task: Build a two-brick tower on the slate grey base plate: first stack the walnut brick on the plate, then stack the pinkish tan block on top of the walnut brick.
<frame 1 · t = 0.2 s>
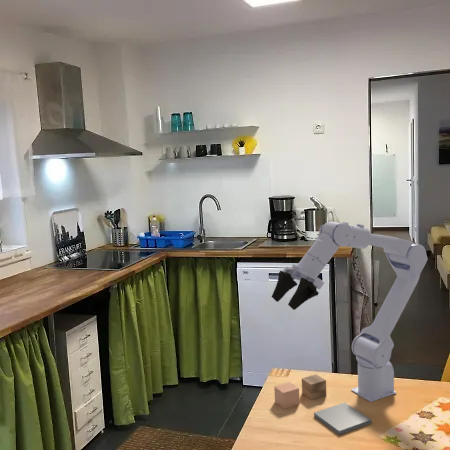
hand: (282, 303, 123), 31 cm above the table, tool tilted 45°, fingers open, 7 cm apart
walnut brick: (314, 394, 139), on the table
pinkish tan block: (287, 403, 135), on the table
base plate: (342, 419, 125), on the table
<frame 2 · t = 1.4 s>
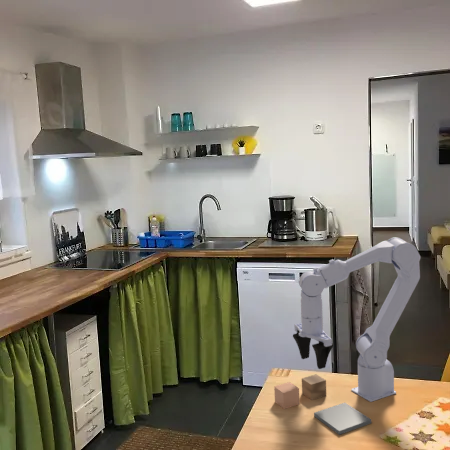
hand: (313, 362, 138), 9 cm above the table, tool pointing down, fingers open, 7 cm apart
nothing on the table moved.
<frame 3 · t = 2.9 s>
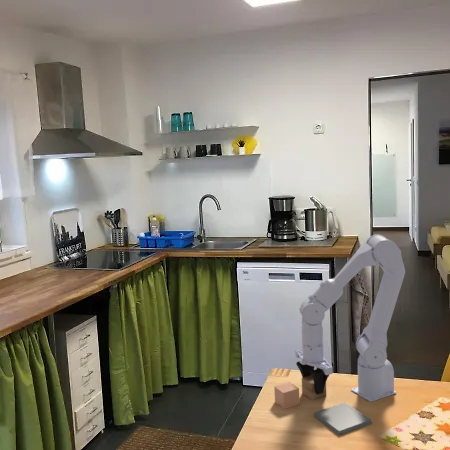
hand: (314, 389, 139), 1 cm above the table, tool pointing down, fingers closed on walnut brick, 4 cm apart
walnut brick: (314, 394, 139), on the table, touching gripper
everything else where it was.
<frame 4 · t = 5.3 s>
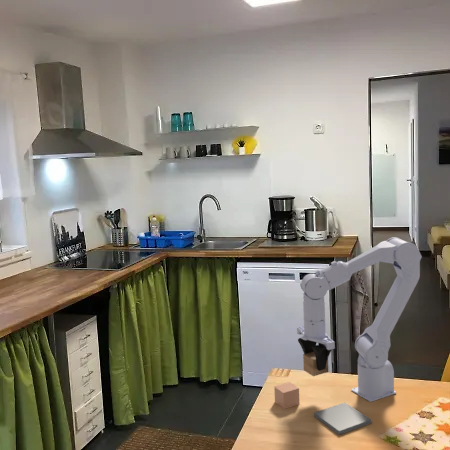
hand: (315, 366, 137), 9 cm above the table, tool pointing down, fingers closed on walnut brick, 4 cm apart
walnut brick: (316, 371, 137), point 7 cm above the table, touching gripper
everything else where it was.
when the fingers open (3 cm above the table, at t = 8.2 s): walnut brick stays where it is, resting on base plate.
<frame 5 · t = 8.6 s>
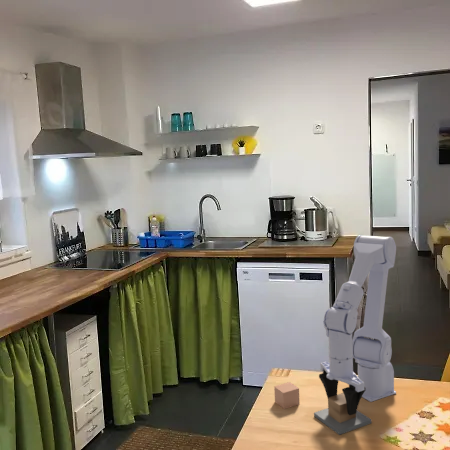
hand: (342, 407, 125), 3 cm above the table, tool pointing down, fingers open, 7 cm apart
walnut brick: (342, 415, 125), point 1 cm above the table, touching base plate
everything else where it was.
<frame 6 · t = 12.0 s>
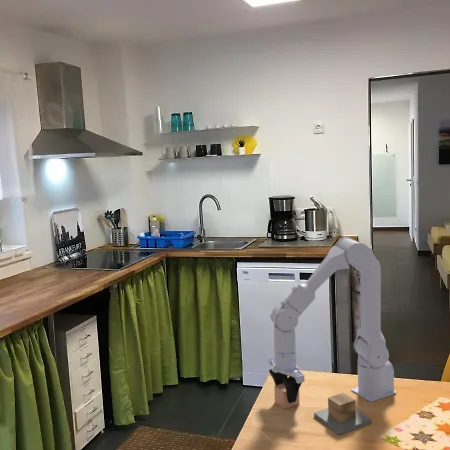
hand: (286, 397, 135), 1 cm above the table, tool pointing down, fingers closed on pinkish tan block, 4 cm apart
pinkish tan block: (287, 402, 135), on the table, touching gripper
everything else where it was.
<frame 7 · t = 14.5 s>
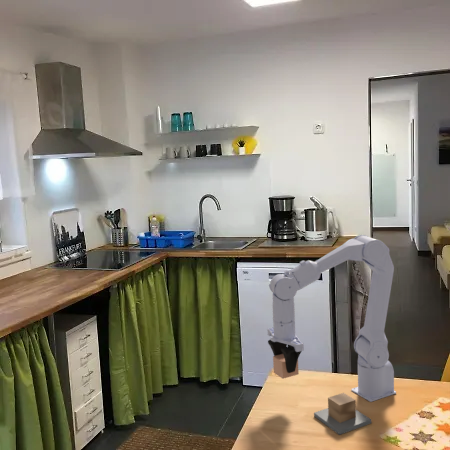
hand: (285, 368, 134), 10 cm above the table, tool pointing down, fingers closed on pinkish tan block, 4 cm apart
pinkish tan block: (286, 373, 134), point 8 cm above the table, touching gripper
everything else where it was.
when the fingers open (8 cm above the table, at t = 17.0 s): pinkish tan block stays where it is, resting on walnut brick.
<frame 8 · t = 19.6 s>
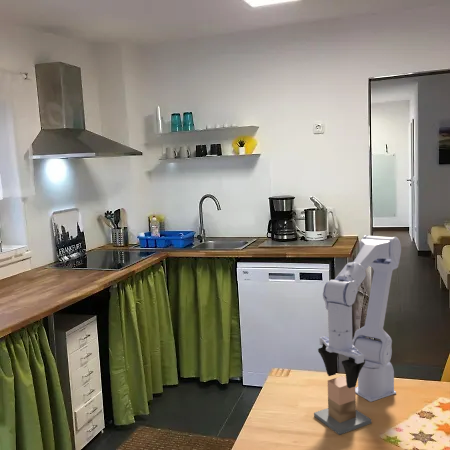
hand: (341, 380, 124), 10 cm above the table, tool pointing down, fingers open, 7 cm apart
walnut brick: (342, 415, 125), point 1 cm above the table, touching base plate, pinkish tan block
pinkish tan block: (341, 398, 125), point 6 cm above the table, touching walnut brick
at the end: walnut brick 0.0 cm off-centre on the base plate, point 1.0 cm above the base plate's base; pinkish tan block 0.0 cm off-centre on the walnut brick, point 4.6 cm above the walnut brick's base; pinkish tan block tilted 0° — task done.
